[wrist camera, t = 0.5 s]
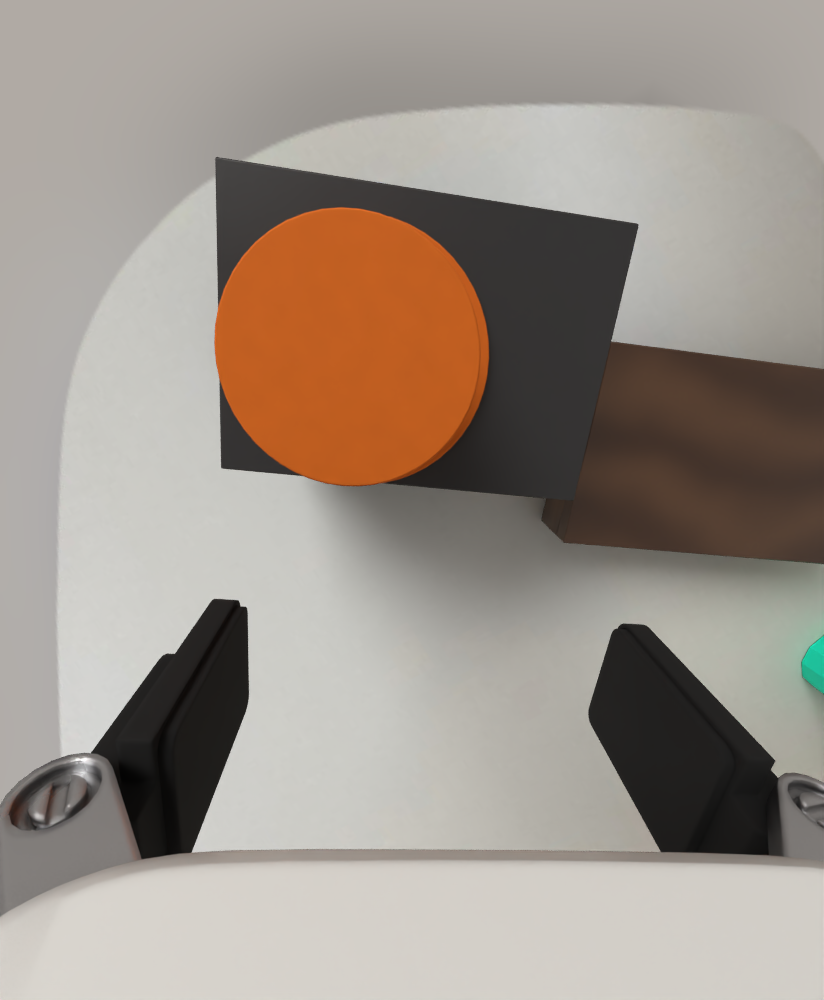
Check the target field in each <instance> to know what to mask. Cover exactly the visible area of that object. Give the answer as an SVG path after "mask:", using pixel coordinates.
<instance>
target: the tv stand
mask: <svg viewBox="0 0 824 1000" xmlns="http://www.w3.org/2000/svg"><path fill="white" fill-rule="evenodd" d="M542 522H543V523H544V524H545V525H546V526H547V527H548V528H549V529H550V530H551V531H552V532H553V533H554V534H555V535H557V536H558V537H559V538H560V539H561V540H562V541H563V542H564V543H575V544H587V545H599V546H611V547H623V548H635V549H648V550H660V551H672V552H684V553H696V554H708V555H720V556H733V557H745V558H757V559H769V560H781V561H793V562H806V563H818V564H824V369H819V368H811V367H803V366H796V365H788V364H780V363H773V362H765V361H757V360H750V359H742V358H734V357H727V356H719V355H711V354H703V353H696V352H688V351H680V350H673V349H665V348H657V347H650V346H642V345H634V344H627V343H619V342H611V344H610V348H609V352H608V357H607V361H606V365H605V369H604V374H603V378H602V382H601V386H600V390H599V395H598V399H597V403H596V407H595V412H594V416H593V420H592V424H591V429H590V433H589V437H588V441H587V445H586V450H585V454H584V458H583V462H582V467H581V471H580V475H579V479H578V484H577V488H576V492H575V496H574V500H573V501H570V500H559V499H548V498H546V502H545V507H544V512H543V516H542Z"/></svg>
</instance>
